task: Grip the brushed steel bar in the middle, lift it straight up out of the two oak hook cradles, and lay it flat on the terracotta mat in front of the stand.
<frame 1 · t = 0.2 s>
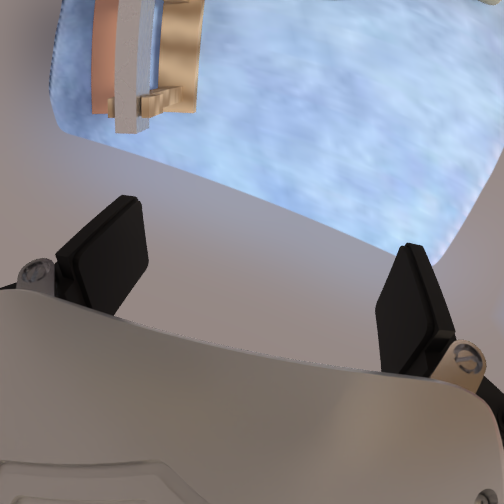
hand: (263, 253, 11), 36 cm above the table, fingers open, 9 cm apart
terracotta mat: (116, 49, 38), on the table
hook stand: (181, 44, 37), on the table
steel bar: (140, 41, 27), point 12 cm above the table, touching hook stand
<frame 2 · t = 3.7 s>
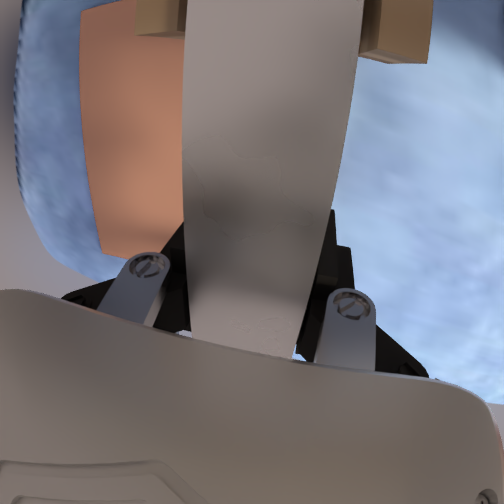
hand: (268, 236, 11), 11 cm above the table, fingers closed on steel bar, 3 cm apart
terracotta mat: (135, 139, 22), on the table
hook stand: (292, 155, 20), on the table
steel bar: (262, 256, 10), point 12 cm above the table, touching gripper, hook stand
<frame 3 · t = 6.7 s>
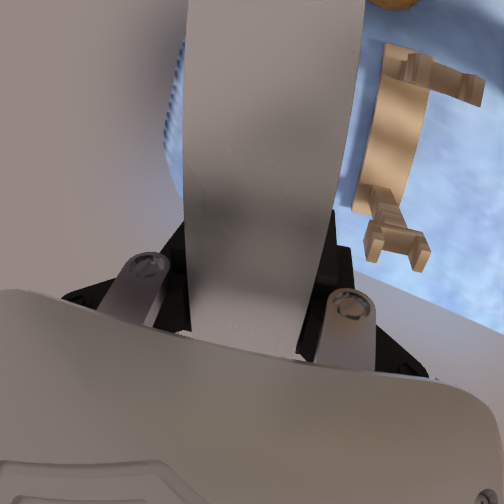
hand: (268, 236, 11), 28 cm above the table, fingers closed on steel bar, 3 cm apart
hook stand: (393, 134, 32), on the table
steel bar: (263, 257, 10), point 29 cm above the table, touching gripper
when the fingers open (1 cm above the table, at t = 10.0 s): steel bar drops 2 cm, resting on terracotta mat.
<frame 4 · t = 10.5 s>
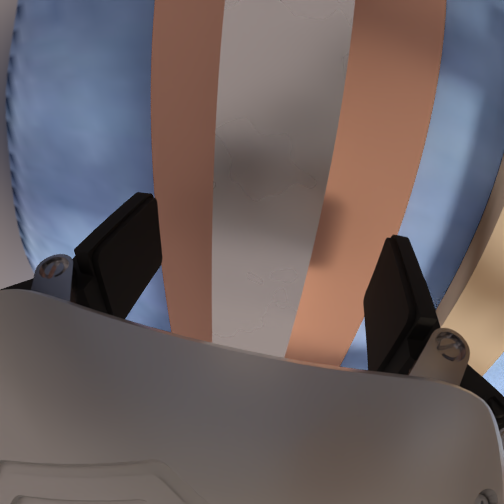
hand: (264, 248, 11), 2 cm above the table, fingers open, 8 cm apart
terracotta mat: (273, 218, 13), on the table
steel bar: (271, 226, 12), point 1 cm above the table, touching terracotta mat
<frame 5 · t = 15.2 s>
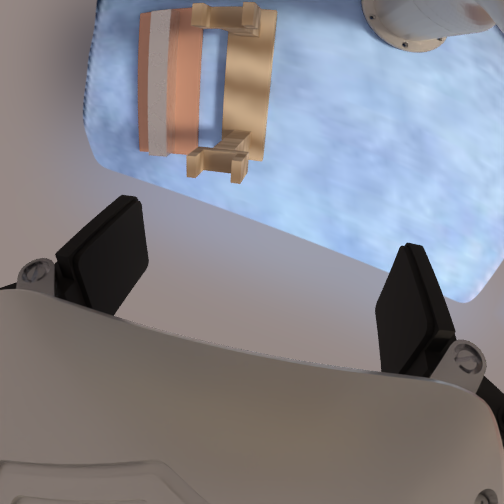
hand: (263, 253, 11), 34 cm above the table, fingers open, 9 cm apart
terracotta mat: (168, 80, 39), on the table
hook stand: (248, 83, 37), on the table
steel bar: (166, 81, 38), point 1 cm above the table, touching terracotta mat
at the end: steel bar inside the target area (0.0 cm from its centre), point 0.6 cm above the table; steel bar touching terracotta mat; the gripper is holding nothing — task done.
